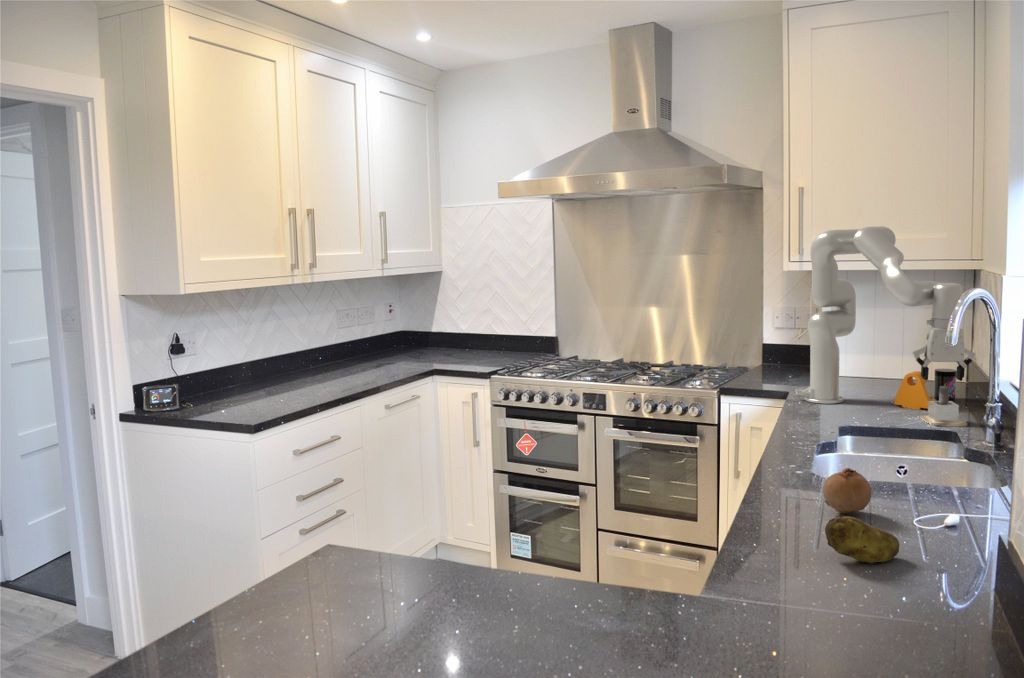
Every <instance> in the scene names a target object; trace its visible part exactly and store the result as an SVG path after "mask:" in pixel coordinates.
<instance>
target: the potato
mask: <svg viewBox="0 0 1024 678" xmlns="http://www.w3.org/2000/svg"><path fill="white" fill-rule="evenodd" d="M824 533H825V538H826V540H827V545H828V546H829V547H831V548H832V549H833V550H834V551H835V552H836V553H838V554H839V555H843V556H846V557H850V558H852V559H854V560H855V561H858V560H859V561H858V562H861V561H863V562H862V563H864V562H872V563H871V564H874V563H873V562H882V563H885V562H888V561H891V560H892V559H893V558H895V557H896V556H897V555H898V553H899V551H900V541H899V539H898V538H897V537H896V536H895V535H894V534H892V533H890V532H889V531H887V530H884V529H881V528H879V527H875V526H873V525H871V524H868V523H867V522H864V521H863V520H861V519H860V518H856V517H853V516H847V515H846V516H845V515H841V516H837V517H834V518H831V519H829V520H828V522H827V523H826V524H825V528H824Z"/></svg>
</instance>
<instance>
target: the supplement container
mask: <svg viewBox="0 0 1024 678" xmlns="http://www.w3.org/2000/svg"><path fill="white" fill-rule="evenodd" d="M956 373H957V369H953V368H935V369H934V378H933V379H934V381H933V383H934V384H933V385H934V386H933V388H934V389H933V399H936V401H939V387H940V386H946V387H949V397H948V401H952V402H955V400H956V399H957V379H956Z"/></svg>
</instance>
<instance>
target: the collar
mask: <svg viewBox="0 0 1024 678" xmlns="http://www.w3.org/2000/svg"><path fill="white" fill-rule="evenodd" d="M959 408H960V405H959V404H957V403H955V401H948V405H939V401H938V400H936V401H928V409H927V416H928V417H929V418H930V419H932V420H933V421H935V422H958V418H959V413H960V410H959Z"/></svg>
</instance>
